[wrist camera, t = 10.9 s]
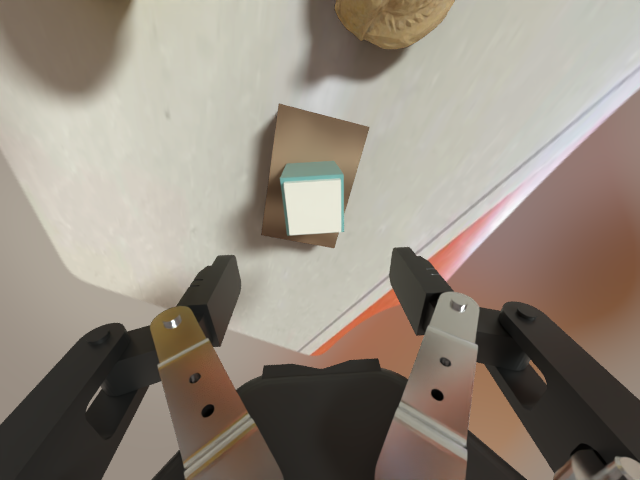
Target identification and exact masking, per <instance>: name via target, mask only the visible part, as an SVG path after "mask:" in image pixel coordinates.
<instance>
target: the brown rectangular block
mask: <svg viewBox="0 0 640 480" xmlns="http://www.w3.org/2000/svg"><path fill="white" fill-rule="evenodd" d="M368 131H369V127H367V126H363V125H359V124H355V123H352V122H348V121H344V120H340V119H336V118H332V117H328V116H325V115H321V114H317V113H313V112H309V111H305V110H302V109H298V108H294V107H290V106H286V105H282V104H279V106H278V114H277V121H276V129H275V136H274V144H273V151H272V159H271V166H270V174H269V181H268V188H267V196H266V203H265V211H264V218H263V226H262V233H261V235H264V236H269V237H275V238H280V239H286V240H291V241H297V242H302V243H308V244H314V245H319V246H325V247H330V248H334V247H335V244H336V240H337V237H338V233H339V232H335V233H320V234H305V235H290V236H287V231H286V223H285V215H284V207H283V199H282V191H281V182H280V177H281V175H282V172H283V170H284V168H285V166H286V164H287V163H303V162H320V161H335V162H336V164H337V165H338V167H339V168H340V170H341V171H342V173H343V174H344V213H345V209H346V206H347V203H348V199H349V196H350V192H351V189H352V185H353V182H354V179H355V175H356V172H357V168H358V165H359V161H360V158H361V155H362V151H363V148H364V144H365V141H366V137H367V134H368Z"/></svg>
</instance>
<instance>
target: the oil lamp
mask: <svg viewBox="0 0 640 480" xmlns="http://www.w3.org/2000/svg"><path fill="white" fill-rule="evenodd" d="M454 2H455V0H336V3H335V11H336V14H337V16H338V18H339V20H340V21H341V22H342V24H343V25H344V26H345V28H346V29H347V30H348V31H350V32H352V33H353V34H354V35H355V36H356V37H357V38H358V39H359V40H361V41H362V40H367V41H369V42H371V43H373V44H375V45H377V46H378V47H380V48H383V49H399V48H404V47H408V46H410V45H412V44H414V43H415V42H417V41H419V40H420V39H422V38H423V37H424V36H426V35H427V34H428V33H430V32H431V31H432V30H433V29H435V28H436V27H437V26H438V24H440V23H441V22H442V21H443V19H444V18H445V17H446V15H447V13H448V11H449V9H450V8H451V6H452V5H453V3H454Z"/></svg>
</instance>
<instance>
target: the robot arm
mask: <svg viewBox="0 0 640 480" xmlns="http://www.w3.org/2000/svg"><path fill="white" fill-rule="evenodd" d="M389 277H390V283H391V286H392V288H393V290H394V292H395V294H396V296H397V298H398V300H399V302H400V304H401V306H402V308H403V310H404V312H405V314H406V316H407V318H408V320H409V322H410V324H411V326H412V328H413V330H414V332H415V334H416V335H424V338H423V341H422V343H421V346H420V349H419V352H418V354H417V357H416V360H415V363H414V365H413V368H412V371H411V374H410V376H409V379H407V378H405V377H404V376H402V375H400V374H398V373H396V372H393V371H391V370H387V369H383V368H381V367H380V364H379V360H378V359H361V360H349V361H346V362H343V363H340V364H337V365H334V366H331V367H327V368H324V369H317V368H312V367H307V366H301V365H295V364H282V365H266V366H264V368H263V374H262V376H259V377H257V378H254V379H252V380H250V381H248V382H247V383H245V384H244V385H242V386H241V387H239V388H238V389H237V390H236V389H235V388H234V386H233V384H232V382H231V380H230V378H229V376H228V374H227V372H226V371H225V369H224V367H223V365H222V363H221V361H220V359H219V357H218V355H217V354H216V352H215V350H214V348H213V347H220V346H221V343H222V341H223V338H224V335H225V332H226V330H227V327H228V324H229V321H230V319H231V316H232V313H233V311H234V308H235V305H236V302H237V300H238V297H239V294H240V291H241V279H240V275H239V270H238V266H237V261H236V257H235V256H234V255H220V256H217V258H216V259H215V261H214V263H213V264H212V266H207V267H205V268H204V269H203V270H201V271H200V272H199V273H198V274H197V276H196V277H195V279H194V281H193V282H192V283H191V285H190V287H189V288H188V289H187V291H186V292H185V294H184V295H183V297H182V298H181V300H180V301H179V303H178V304H177V306H176V307H173V308H170V309H167V310H165V311H163V312H162V313H160V314H159V315H158V316H156V318H154V320H153V321H152V322H151V325H150V326H146V327H142V328H139V329H135V330H131V331H128V332H127V331H126V329H125V327H124V326H123V325H122V324H120V323H111V324H106V325H103V326H100V327H98V328H96V329H93V330H92V331H90V332H88V333H87V334H85V335H84V336H83V337H82V338H81V339H79V341H78V342H77V343H76V344H75V345H74V346H73V347H72V348H71V349H70V350H69V351H68V352H67V354H65V356H64V357H63V358H62V359H61V360H60V361H59V362H58V363H57V364H56V365H55V366H54V368H53V369H52V370H51V371H50V372H49V373H48V374H47V375H46V376H45V377H44V378H43V379H42V381H41V382H40V383H39V384H38V385H37V386H36V387H35V388H34V389H33V390H32V391H31V392H30V393H29V394H28V396H27V397H26V398H25V399H24V400H23V401H22V402H21V403H20V404H19V405H18V407H16V409H15V410H14V411H13V412H12V413H11V414H10V415H9V416H8V417H7V418H6V419H5V420H4V422H3V423H2V424H1V425H0V480H101V479H102V477H103V475H104V473H105V471H106V470H107V468H108V466H109V464H110V462H111V460H112V458H113V456H114V454H115V452H116V450H117V448H118V446H119V444H120V442H121V440H122V438H123V436H124V434H125V432H126V430H127V428H128V427H129V425H130V423H131V421H132V419H133V417H134V415H135V413H136V411H137V409H138V407H139V405H140V403H141V401H142V399H143V397H144V395H145V393H146V391H147V389H148V387H149V385H151V384H154V383H157V382H160V381H162V385H163V389H164V392H165V396H166V400H167V404H168V408H169V411H170V415H171V419H172V423H173V426H174V430H175V434H176V438H177V441H178V445H179V449H180V450H179V451H178V452H177V453H176V454H175V455H174V456H173V457H172V458H171V459H170V460H169V461H168V462H167V464H166V465H165V466H164V467H163V468H162V469H161V470H160V471H159V472H158V473H157V474H156V476H154V477H153V479H152V480H527V479H526V478H524V477H523V476H522V475H521V474H520V473H518V472H517V471H516V470H515V469H514V468H513V467H511V466H510V465H509V464H508V463H507V462H506V461H504V460H503V459H502V458H501V457H499V456H498V455H497V454H496V453H495V452H494V451H493V450H491V449H490V448H489V447H488V446H487V445H486V444H484V443H483V442H482V441H481V440H480V439H479V438H477V437H476V436H475V435H474V434H473V433H471V432H470V431H469V430H468V425H469V417H470V408H471V400H472V392H473V383H474V376H475V367H476V362H478V363H483V364H485V366H486V368H487V369H488V370H489V372H490V374H491V375H492V377H493V378H494V380H495V381H496V383H497V385H498V386H499V388H500V389H501V391H502V392H503V394H504V396H505V397H506V399H507V400H508V402H509V403H510V405H511V406H512V408H513V409H514V411H515V413H516V414H517V416H518V417H519V419H520V420H521V422H522V423H523V425H524V427H525V428H526V430H527V431H528V433H529V434H530V436H531V438H532V439H533V441H534V442H535V444H536V445H537V447H538V448H539V450H540V452H541V453H542V455H543V456H544V458H545V459H546V461H547V462H548V464H549V466H550V467H551V469H552V470H553V472H554V473H555V474H554V477H553V480H640V400H639V399H638V398H637V397H635V396H634V395H633V394H632V393H631V392H630V391H629V390H628V389H627V388H626V387H624V386H623V385H622V384H621V383H620V382H619V381H618V380H617V379H616V378H614V377H613V376H612V375H611V374H610V373H609V372H608V371H607V370H606V369H605V368H604V367H602V366H601V365H600V364H599V363H598V362H597V361H596V360H595V359H594V358H593V357H591V356H590V355H589V354H588V353H587V352H586V351H585V350H584V349H582V347H580V346H579V345H578V344H577V343H576V342H575V341H574V340H573V339H572V338H571V337H569V336H568V335H567V334H566V333H565V332H564V331H563V330H562V329H561V328H560V327H558V326H557V325H556V324H555V323H554V322H553V321H552V320H551V319H550V318H549V317H547V316H546V315H545V314H544V313H543V312H541V311H540V310H538V309H537V308H535V307H533V306H530V305H528V304H524V303H521V302H507V303H505V304H504V305H503V308H502V310H501V311H498V310H492V309H486V308H481V307H479V306H478V304H477V303H476V302H475V301H474V300H473V299H472V298H470V297H468V296H466V295H464V294H461V293H457V292H454V291H453V290H452V289H451V287H450V286H449V285H448V284H447V282H446V281H445V280H444V279H443V278H442V276H441V275H439V273H438V272H437V270H436V269H434V267H433V266H432V264H431V263H430V262H429V261H427V260H426V259H424V258H423V257H421V256H416V255H415V253H414V252H413V251H412V249H411V248H410V247H399V248H394V249H393V251H392V258H391V266H390V273H389ZM530 360H532V362H533V363H534V364H535V365H536V366H537V367H538V368H539V370H540V371H541V372H542V374H543V375H544V377H545V379H546V382H547V385H546V384H545V383H544V382H543V380H542V379H541V377H540V376H539V375H538V374H537V373H536V372H535V370H534V369H533V368H532V367H531V365H530V364H529V361H530ZM100 386H101V388H102V390H101V391H100V392H99V394H98V395H97V397H96V398H95V400H94V401H93V403H92V404H91V406H90V407H89V408H88V410H87V412H86V408H87V406H88V404H89V402H90V400H91V399H92V397H93V396H94V394H95V393H96V391H97V390H98V388H99V387H100Z"/></svg>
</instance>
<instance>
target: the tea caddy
mask: <svg viewBox="0 0 640 480" xmlns="http://www.w3.org/2000/svg"><path fill="white" fill-rule="evenodd" d="M280 182H281V191H282V199H283V207H284V215H285V223H286V231H287V236H290V235H305V234H320V233H335V232H344V174H343V173H342V171H341V170H340V168H339V167H338V165H337V164H336V162H335V161H320V162H303V163H287V164H286V166H285V168H284V170H283V172H282V175H281V177H280Z"/></svg>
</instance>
